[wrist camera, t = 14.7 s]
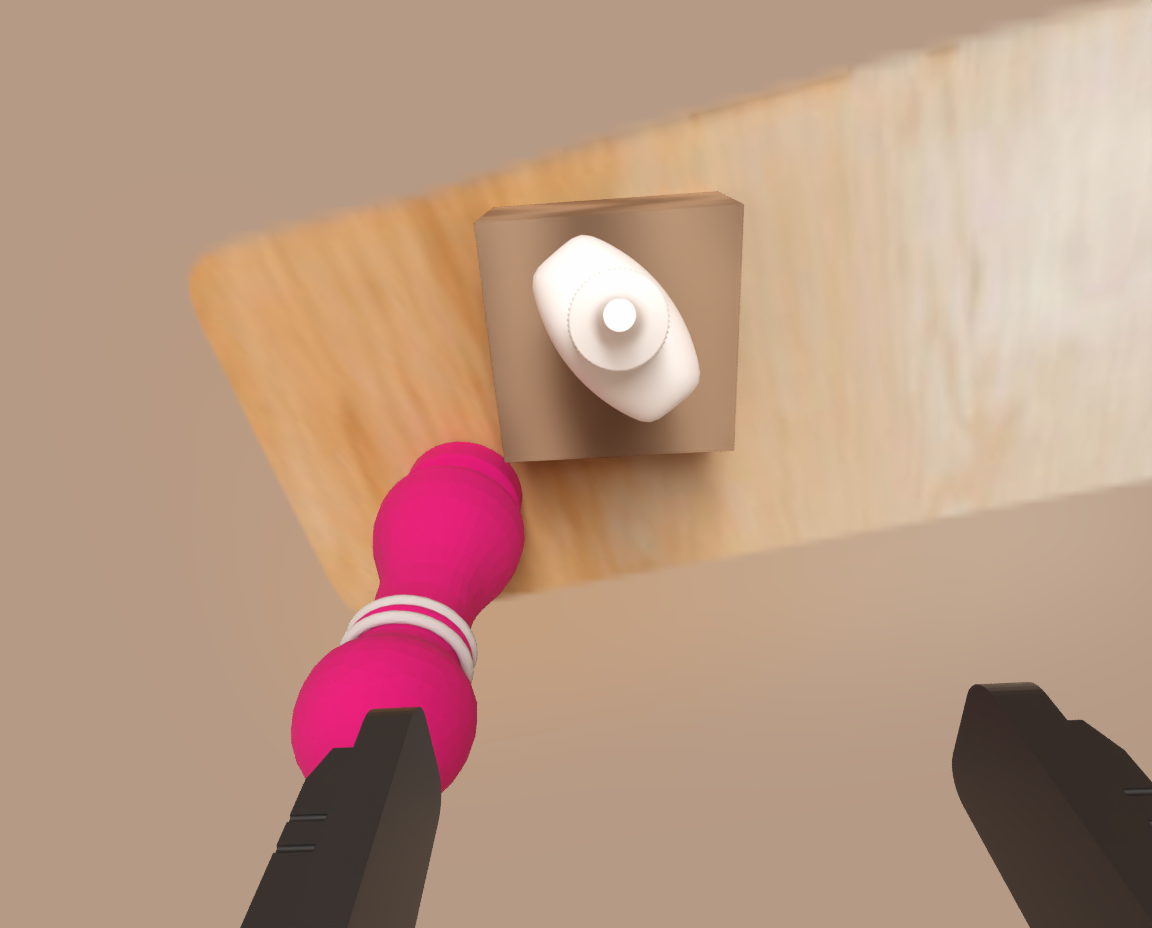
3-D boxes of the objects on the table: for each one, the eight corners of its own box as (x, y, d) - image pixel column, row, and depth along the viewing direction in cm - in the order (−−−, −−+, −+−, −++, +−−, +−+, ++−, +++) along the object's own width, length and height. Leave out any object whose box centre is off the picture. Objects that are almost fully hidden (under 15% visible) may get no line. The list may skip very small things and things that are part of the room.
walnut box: (716, 190, 30) (743, 204, 25) (711, 400, 34) (734, 450, 29) (494, 206, 31) (473, 223, 25) (517, 411, 35) (504, 462, 30)
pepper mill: (535, 545, 38) (487, 912, 20) (409, 549, 39) (253, 914, 21) (525, 429, 35) (459, 743, 17) (388, 433, 35) (182, 748, 17)
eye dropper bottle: (571, 422, 27) (543, 462, 15) (545, 279, 26) (493, 199, 14) (681, 402, 26) (742, 427, 14) (657, 257, 26) (701, 157, 14)
